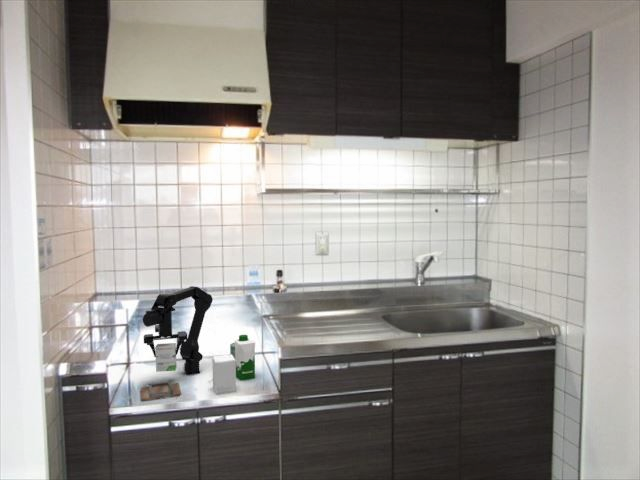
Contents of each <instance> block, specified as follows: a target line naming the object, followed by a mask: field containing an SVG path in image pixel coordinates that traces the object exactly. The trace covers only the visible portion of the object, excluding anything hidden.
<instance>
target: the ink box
mask: <svg viewBox="0 0 640 480" xmlns="http://www.w3.org/2000/svg"><path fill="white" fill-rule="evenodd" d="M176 345H177V342H174V343H173V342H171V343H170V342H169V343H157V344H156V345H155V346H154V347H155V353H156V357H155V371H156V373H158V372H160V373H161V372H172V371H173V372H174V371H176V370H177V365H178V364H177V355H176Z"/></svg>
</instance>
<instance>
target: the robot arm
mask: <svg viewBox="0 0 640 480" xmlns="http://www.w3.org/2000/svg"><path fill="white" fill-rule="evenodd" d="M188 298H192V299H193V300H194V302H193V305H194V309H195V310H194V314H193V318H192V322H191V325H190V328H189V333H187V331H185V330H183V331H182V330H181V331H177V333H173V315H172V314H173V312H175V311H176V308H174V307H173V306H176V304H177V303H178V302H180V301H183V300H185V299H188ZM213 300H214V299H213V297H212V295H211V294H210V293H208V292H206V291H204V290H202V289H201V288H200V287H199V286H195V285H194V286H193V285H191V286H189V287H187V288H184V289H181V290H179V291H174V292H173V293H160V294H158V295H157V296H156V299H155V300H154V302H153V305H152V307H151V308H150V310H146V311H145V314H144V315H143V317H142V322H143V324H144V326H145V327H152V326H154V332H155V333H158V335H153V333H148V334H144V335H143V344H145V345H146V346H149V347H150V350H152V354H153V357H154V358H156V352H155V347H156V346H155V342H154V341H159V340H172V339H176V356H178V353H179V354H180V357H181V359H182V360H183V361H185V362H184V363H183V364H184V365H183V369H184V373H185V375H187V376H188V375H197V374H200V373H201V370H200V362H201V361H202V360H203V357H204V356H203V354H202V353H201V352H200V351H199V349H200V346H199V345H200V344H199V337H200V333H201V329H202V326H203V323H204V318H205V315H206V312H207V311H208V310H209V309H210V308H211V305H212V303H213Z"/></svg>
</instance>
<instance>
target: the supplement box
mask: <svg viewBox="0 0 640 480" xmlns="http://www.w3.org/2000/svg"><path fill="white" fill-rule="evenodd" d="M212 390H213V392H214V394H215V395H216V396H217V395H221V394H222V395H223V394H231V393H235V392H237V377H236V360H235V359H234V357H233V355H230V354H225V355H214V356H212Z"/></svg>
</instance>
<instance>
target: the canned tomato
mask: <svg viewBox="0 0 640 480" xmlns="http://www.w3.org/2000/svg"><path fill="white" fill-rule="evenodd" d="M229 350H230V354H229V355H233V357H234V359H235V342H231V343H230V348H229Z"/></svg>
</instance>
